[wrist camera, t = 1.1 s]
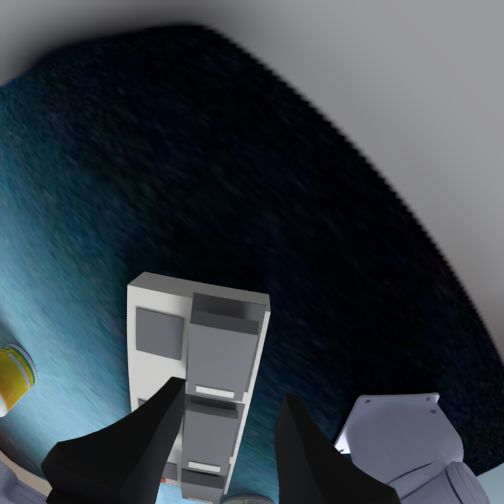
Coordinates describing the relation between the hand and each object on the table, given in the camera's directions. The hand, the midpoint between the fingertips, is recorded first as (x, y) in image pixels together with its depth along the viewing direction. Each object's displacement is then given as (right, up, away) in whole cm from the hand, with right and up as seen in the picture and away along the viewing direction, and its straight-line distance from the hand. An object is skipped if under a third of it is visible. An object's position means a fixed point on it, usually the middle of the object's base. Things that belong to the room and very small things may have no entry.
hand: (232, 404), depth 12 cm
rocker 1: (-1, 0, +5) cm, 5 cm away
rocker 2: (-2, -7, +7) cm, 10 cm away
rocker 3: (-4, -15, +9) cm, 18 cm away
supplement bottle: (-25, -6, +12) cm, 28 cm away
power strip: (-4, -6, +11) cm, 13 cm away
